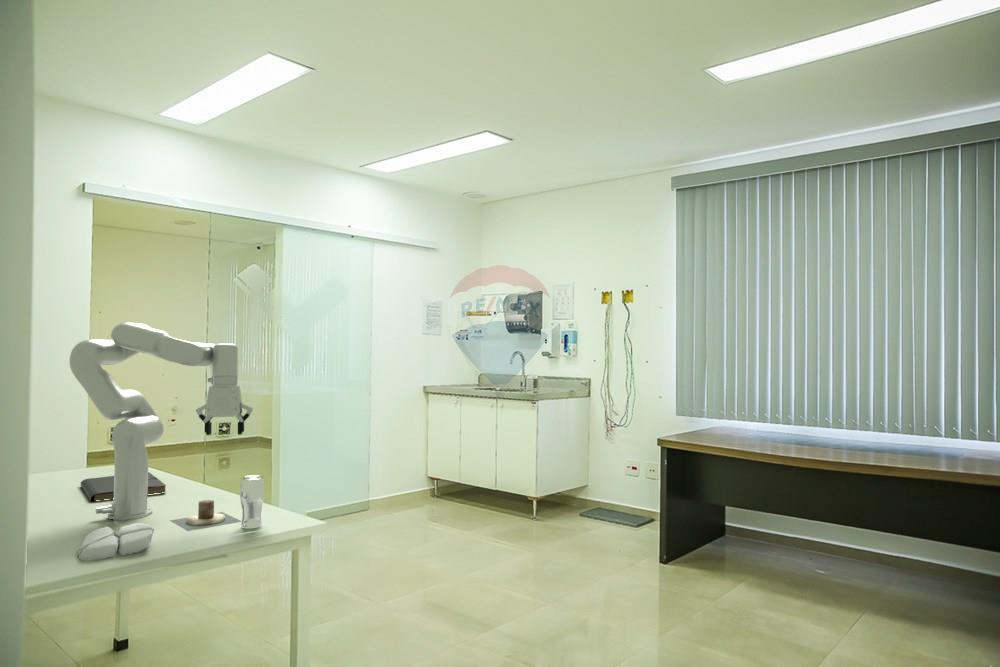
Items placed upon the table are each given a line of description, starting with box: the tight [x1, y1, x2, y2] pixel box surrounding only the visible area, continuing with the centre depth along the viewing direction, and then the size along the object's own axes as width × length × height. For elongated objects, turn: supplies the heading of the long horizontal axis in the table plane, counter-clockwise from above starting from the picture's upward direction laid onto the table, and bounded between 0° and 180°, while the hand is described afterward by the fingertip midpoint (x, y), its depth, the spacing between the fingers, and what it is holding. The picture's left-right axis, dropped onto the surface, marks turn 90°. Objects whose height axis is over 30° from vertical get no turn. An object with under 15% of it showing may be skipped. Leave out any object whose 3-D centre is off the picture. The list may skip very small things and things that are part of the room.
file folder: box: [80, 471, 167, 502], centre depth 244 cm, size 33×4×24 cm
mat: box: [170, 511, 242, 532], centre depth 199 cm, size 16×16×1 cm
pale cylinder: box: [239, 475, 265, 529], centre depth 195 cm, size 7×7×15 cm
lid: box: [186, 499, 225, 526], centre depth 199 cm, size 11×11×6 cm
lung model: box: [77, 522, 155, 561], centre depth 175 cm, size 7×17×25 cm
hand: (224, 434), depth 206 cm, fingers open, 9 cm apart
